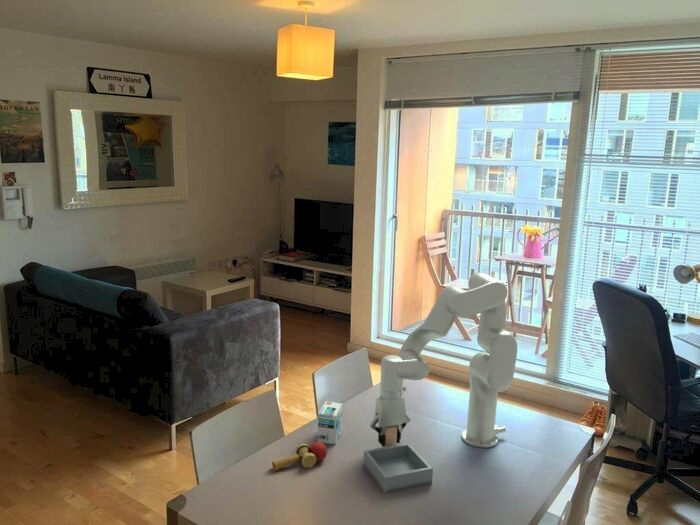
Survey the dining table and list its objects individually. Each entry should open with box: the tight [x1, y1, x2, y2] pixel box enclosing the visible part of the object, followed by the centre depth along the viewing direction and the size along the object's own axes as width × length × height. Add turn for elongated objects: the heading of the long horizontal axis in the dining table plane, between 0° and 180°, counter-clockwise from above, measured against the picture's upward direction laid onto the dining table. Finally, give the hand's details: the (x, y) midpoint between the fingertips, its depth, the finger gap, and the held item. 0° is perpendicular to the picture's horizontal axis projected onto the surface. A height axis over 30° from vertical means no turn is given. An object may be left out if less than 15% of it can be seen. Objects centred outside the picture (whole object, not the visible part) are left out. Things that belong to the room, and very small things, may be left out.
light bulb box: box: [317, 400, 344, 445], centre depth 199 cm, size 11×7×11 cm, turn 168°
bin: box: [363, 443, 434, 494], centre depth 177 cm, size 16×16×5 cm
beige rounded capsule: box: [381, 425, 398, 448], centre depth 192 cm, size 5×5×8 cm
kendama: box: [271, 441, 328, 471], centre depth 181 cm, size 8×6×18 cm
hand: (389, 442), depth 192 cm, fingers closed on beige rounded capsule, 5 cm apart
